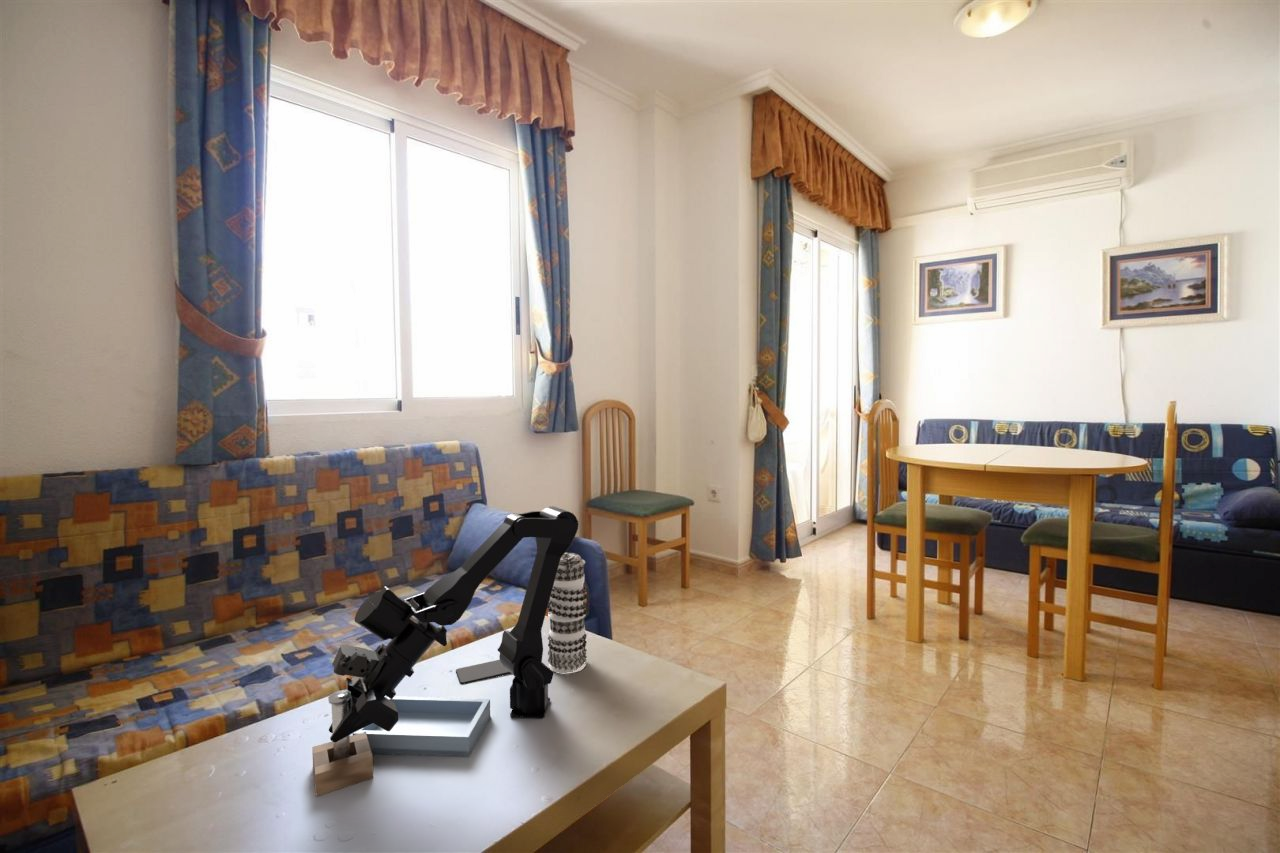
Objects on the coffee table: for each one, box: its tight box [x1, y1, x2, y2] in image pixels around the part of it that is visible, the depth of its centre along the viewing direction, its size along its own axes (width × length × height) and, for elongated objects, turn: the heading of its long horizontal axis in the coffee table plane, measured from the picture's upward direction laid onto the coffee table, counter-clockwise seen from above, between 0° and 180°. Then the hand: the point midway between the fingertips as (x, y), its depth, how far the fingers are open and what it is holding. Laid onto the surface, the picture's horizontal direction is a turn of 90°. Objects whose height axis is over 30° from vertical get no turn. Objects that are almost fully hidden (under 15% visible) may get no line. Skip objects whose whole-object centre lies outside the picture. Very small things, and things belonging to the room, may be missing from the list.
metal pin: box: [327, 689, 351, 761], centre depth 95 cm, size 3×3×13 cm
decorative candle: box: [547, 552, 588, 673], centre depth 131 cm, size 9×9×25 cm
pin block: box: [311, 732, 374, 797], centre depth 95 cm, size 8×8×4 cm
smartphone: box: [455, 659, 512, 685], centre depth 129 cm, size 7×1×15 cm
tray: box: [352, 695, 491, 758], centre depth 105 cm, size 20×12×4 cm, turn 87°
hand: (331, 736), depth 94 cm, fingers closed on metal pin, 2 cm apart
